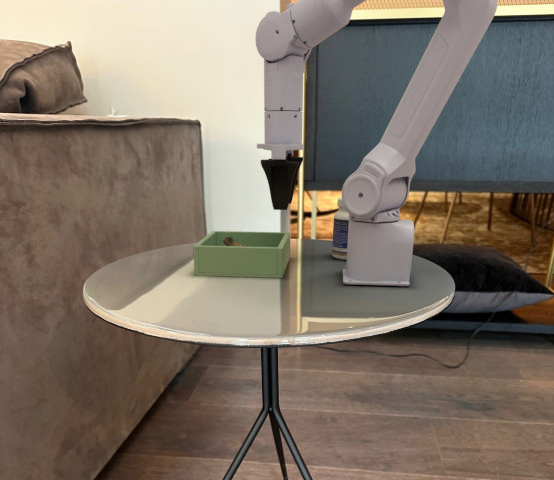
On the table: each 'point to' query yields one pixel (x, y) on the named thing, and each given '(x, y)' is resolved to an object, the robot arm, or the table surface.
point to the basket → (242, 254)
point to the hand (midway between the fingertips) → (282, 206)
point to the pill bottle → (340, 232)
